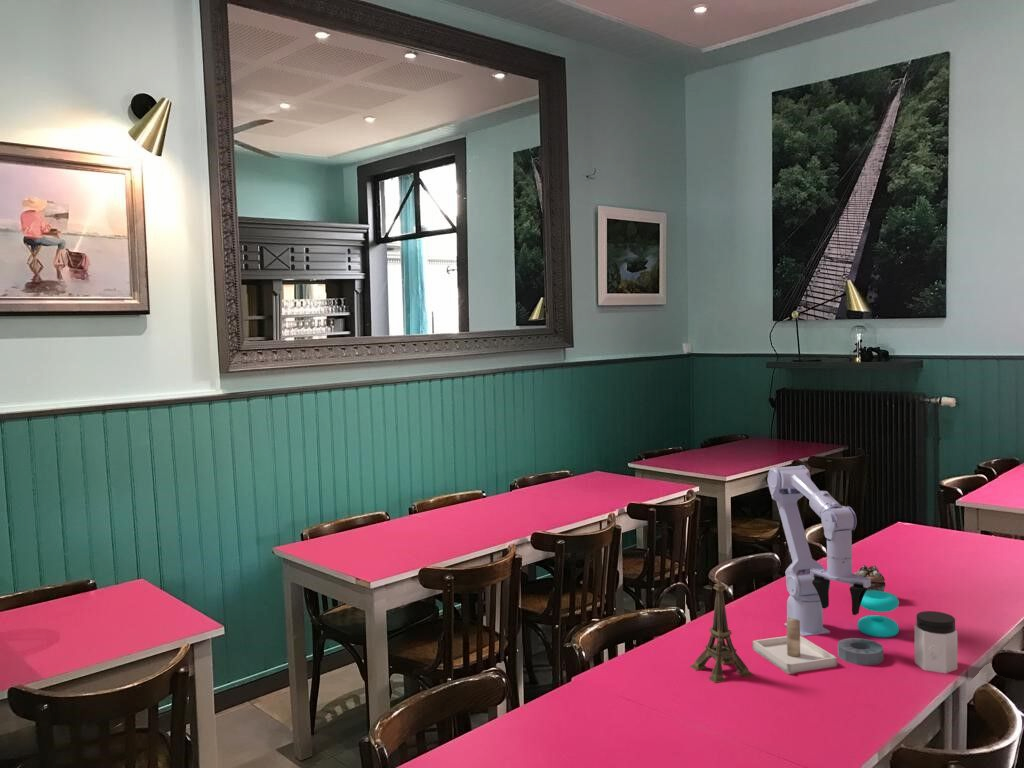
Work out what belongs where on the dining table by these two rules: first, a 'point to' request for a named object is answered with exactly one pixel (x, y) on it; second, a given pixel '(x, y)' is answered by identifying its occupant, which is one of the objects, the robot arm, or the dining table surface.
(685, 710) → the dining table surface
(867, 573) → the cupcake
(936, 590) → the dining table surface
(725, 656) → the eiffel tower
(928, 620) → the jar
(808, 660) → the tray
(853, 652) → the grey faceted ashtray
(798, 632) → the pin
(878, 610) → the donuts
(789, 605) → the robot arm
